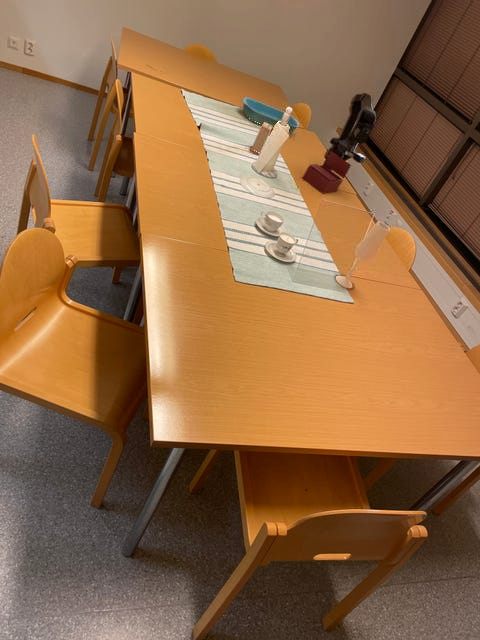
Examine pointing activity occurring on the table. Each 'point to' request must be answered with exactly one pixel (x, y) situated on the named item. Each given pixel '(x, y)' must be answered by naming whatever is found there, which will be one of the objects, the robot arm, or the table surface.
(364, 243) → the champagne flute
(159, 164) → the table surface
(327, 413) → the table surface
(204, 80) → the table surface
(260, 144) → the supplement box
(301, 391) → the table surface
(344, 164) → the flap
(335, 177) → the dark red open box
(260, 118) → the casserole dish
